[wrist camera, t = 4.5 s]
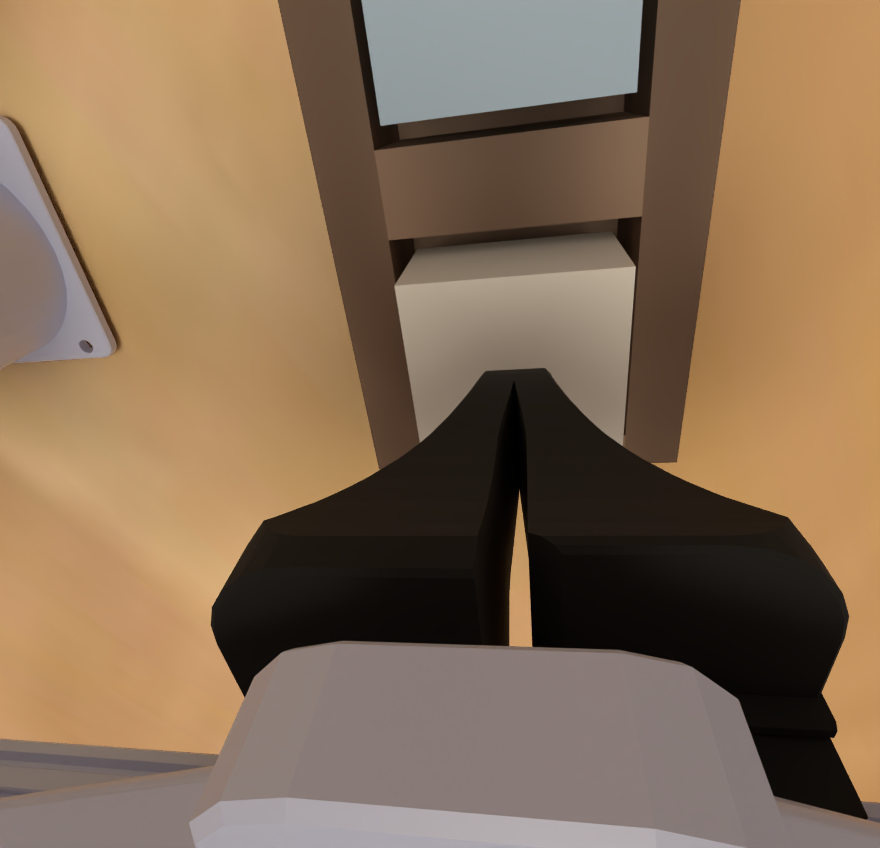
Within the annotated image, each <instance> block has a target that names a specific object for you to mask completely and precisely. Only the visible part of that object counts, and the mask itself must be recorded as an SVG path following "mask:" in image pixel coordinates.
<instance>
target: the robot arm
mask: <svg viewBox="0 0 880 848" xmlns="http://www.w3.org/2000/svg"><path fill="white" fill-rule="evenodd" d="M87 341H88V342H89V343H90V344H91V345H92V347H93V348H92V347H90V346H89V345H88V344H87ZM116 348H117V345H116V341H115V339H114V337H113V335H112V333H111V330H110V328H109V326H108V324H107V322H106V320H105V317H104V315H103V313H102V311H101V309H100V307H99V304H98V302H97V300H96V298H95V296H94V294H93V291H92V289H91V287H90V285H89V283H88V280H87V278H86V276H85V274H84V272H83V270H82V267H81V265H80V263H79V261H78V259H77V257H76V254H75V252H74V250H73V248H72V246H71V244H70V241H69V239H68V237H67V235H66V233H65V231H64V228H63V226H62V224H61V222H60V220H59V218H58V215H57V213H56V211H55V209H54V207H53V205H52V202H51V200H50V198H49V196H48V194H47V192H46V189H45V187H44V185H43V183H42V181H41V179H40V176H39V174H38V172H37V170H36V168H35V166H34V163H33V161H32V159H31V157H30V155H29V153H28V150H27V148H26V146H25V144H24V142H23V140H22V137H21V135H20V133H19V131H18V129H17V128H16V126H15V125H14V124H13V123H12V122H11V121H10V120H9V119H8V118H6V117H4V116H0V369H2V368H4V367H6V366H8V365H10V364H12V363H25V362H41V361H57V360H72V359H88V358H104V357H108V356H110V355H111V354H113V353H114V352H115V351H116ZM519 489H520V496H521V504H522V511H523V519H524V526H525V534H526V541H527V549H528V556H529V575H530V598H531V622H532V646H533V647H515V646H509V590H510V574H511V564H512V555H513V546H514V537H515V527H516V518H517V509H518V499H519ZM848 619H849V614H848V611H847V607H846V603H845V600H844V596H843V593H842V592H841V590H840V589H839V587H838V586H837V584H836V583H835V581H834V580H833V578H832V576H831V575H830V573H829V572H828V570H827V569H826V567H825V565H824V564H823V562H822V561H821V560H820V558H819V557H818V555H817V554H816V552H815V551H814V550H813V548H812V547H811V545H810V544H809V543H808V542H807V541H806V539H805V538H804V537H803V536H802V534H801V533H800V532H799V531H798V529H797V528H796V527H795V526H794V524H793V523H792V522H791V520H790V519H789V518H788V517H785V516H782V515H779V514H776V513H773V512H770V511H767V510H763V509H760V508H757V507H754V506H751V505H748V504H745V503H742V502H738V501H735V500H732V499H729V498H726V497H723V496H721V495H718V494H716V493H713V492H711V491H708V490H706V489H704V488H701V487H699V486H696V485H694V484H691V483H689V482H687V481H685V480H683V479H680V478H678V477H676V476H674V475H672V474H670V473H668V472H666V471H664V470H662V469H660V468H659V467H657V466H655V465H653V464H651V463H649V462H647V461H646V460H644V459H642V458H640V457H639V456H637V455H636V454H634V453H632V452H631V451H629V450H628V449H626V448H625V447H623V446H622V445H620V444H619V443H618V442H616V441H615V440H613V439H612V438H610V437H609V436H608V435H606V434H605V433H604V432H603V431H601V430H600V429H599V428H598V427H597V426H596V425H595V424H594V423H593V422H591V421H590V420H589V419H588V418H587V417H586V416H585V415H584V414H583V413H582V412H581V411H580V410H579V409H578V407H577V406H576V405H575V404H574V403H573V402H572V401H571V400H570V399H569V398H568V396H567V395H566V394H565V393H564V392H563V390H562V389H561V388H560V387H559V385H558V384H557V383H556V381H555V380H554V378H553V377H552V375H551V373H550V372H549V371H548V370H547V369H546V368H532V369H513V370H493V371H485V372H484V373H483V374H482V375H481V377H480V378H479V379H478V381H477V382H476V383H475V385H474V386H473V387H472V389H471V390H470V391H469V392H468V394H467V395H466V396H465V397H464V399H463V400H462V401H461V402H460V403H459V405H458V406H457V407H456V408H455V409H454V410H453V411H452V413H451V414H450V415H449V416H448V417H447V418H446V419H445V420H444V421H443V422H442V423H441V424H440V425H439V426H438V427H437V428H436V429H435V430H434V431H433V432H432V433H431V434H430V435H429V436H427V437H426V438H425V439H424V440H423V441H421V442H420V443H419V444H418V445H416V446H415V447H414V448H412V449H411V450H410V451H408V452H407V453H406V454H404V455H403V456H402V457H400V458H399V459H397V460H395V461H394V462H392V463H390V464H389V465H387V466H386V467H384V468H382V469H381V470H379V471H378V472H376V473H374V474H373V475H371V476H369V477H368V478H366V479H364V480H362V481H360V482H358V483H356V484H354V485H352V486H350V487H348V488H346V489H344V490H342V491H340V492H338V493H335V494H333V495H331V496H329V497H327V498H324V499H322V500H320V501H317V502H315V503H312V504H309V505H307V506H304V507H301V508H298V509H296V510H293V511H290V512H288V513H285V514H282V515H279V516H277V517H274V518H271V519H267V520H264V521H263V523H262V524H261V526H260V527H259V528H258V530H257V531H256V533H255V534H254V536H253V538H252V539H251V541H250V542H249V544H248V545H247V547H246V549H245V550H244V552H243V554H242V556H241V557H240V559H239V561H238V563H237V564H236V566H235V568H234V569H233V571H232V573H231V575H230V576H229V578H228V580H227V582H226V583H225V585H224V587H223V589H222V590H221V592H220V594H219V596H218V598H217V599H216V601H215V603H214V605H213V606H212V616H211V627H212V630H213V633H214V636H215V639H216V642H217V645H218V647H219V649H220V651H221V653H222V655H223V657H224V658H225V660H226V662H227V664H228V666H229V668H230V670H231V672H232V674H233V676H234V678H235V680H236V682H237V684H238V685H239V687H240V689H241V691H242V693H243V695H244V697H245V699H244V701H243V703H242V705H241V707H240V710H239V712H238V714H237V716H236V719H235V721H234V723H233V725H232V727H231V730H230V732H229V734H228V736H227V739H226V741H225V743H224V745H223V748H222V750H221V752H220V754H219V755H217V754H204V753H190V752H176V751H162V750H149V749H135V748H121V747H107V746H94V745H80V744H66V743H53V742H39V741H25V740H11V739H0V848H880V803H876V802H862V801H860V799H859V797H858V794H857V792H856V790H855V788H854V786H853V784H852V782H851V780H850V778H849V776H848V774H847V772H846V770H845V768H844V765H843V763H842V761H841V759H840V757H839V755H838V753H837V751H836V749H835V747H834V745H833V743H832V741H831V739H830V738H834V737H835V735H836V733H837V725H836V721H835V719H834V717H833V715H832V713H831V711H830V709H829V707H828V705H827V703H826V701H825V699H824V697H823V695H822V693H821V692H822V690H823V688H824V685H825V683H826V681H827V678H828V676H829V674H830V671H831V669H832V667H833V664H834V662H835V660H836V657H837V655H838V653H839V650H840V648H841V646H842V643H843V641H844V638H845V634H846V629H847V624H848Z"/></svg>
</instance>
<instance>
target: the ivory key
mask: <svg viewBox="0 0 880 848" xmlns="http://www.w3.org/2000/svg"><path fill="white" fill-rule="evenodd" d="M635 270H636V266H635V265H634V263H633V262H632V260H631V259H630V257H629V256H628V254H627V253H626V252H625V250H624V249H623V247H622V246H621V244H620V243H619V241H618V240H617V238H616V237H615V235H614V234H613V232H612V231H609V232H598V233H587V234H576V235H565V236H554V237H544V238H533V239H522V240H511V241H500V242H489V243H478V244H467V245H456V246H445V247H434V248H423V249H417V250H416V252H415V254H414V255H413V257H412V258H411V260H410V262H409V263H408V265H407V266H406V268H405V270H404V271H403V273H402V275H401V276H400V278H399V279H398V281H397V283H396V284H395V286H394V287H395V293H396V299H397V305H398V311H399V317H400V323H401V330H402V336H403V342H404V348H405V354H406V360H407V366H408V373H409V379H410V385H411V391H412V397H413V403H414V410H415V416H416V422H417V428H418V434H419V440H420V442H421V441H423V440H424V439H425V438H426V437H427V436H429V435H430V434H431V433H432V432H433V431H434V430H435V429H436V428H437V427H438V426H439V425H440V424H441V423H442V422H443V421H444V420H445V419H446V418H447V417H448V416H449V415H450V414H451V413H452V411H453V410H454V409H455V408H456V407H457V406H458V405H459V403H460V402H461V401H462V400H463V399H464V397H465V396H466V395H467V394H468V392H469V391H470V390H471V389H472V387H473V386H474V385H475V383H476V382H477V381H478V379H479V378H480V377H481V375H482V374H483V373H484V372H485V371H493V370H513V369H532V368H546V369H547V370H548V371H549V372H550V373H551V375H552V377H553V378H554V380H555V381H556V383H557V384H558V385H559V387H560V388H561V389H562V390H563V392H564V393H565V394H566V395H567V396H568V398H569V399H570V400H571V401H572V402H573V403H574V404H575V405H576V406H577V407H578V409H579V410H580V411H581V412H582V413H583V414H584V415H585V416H586V417H587V418H588V419H589V420H590V421H591V422H593V423H594V424H595V425H596V426H597V427H598V428H599V429H600V430H601V431H603V432H604V433H605V434H606V435H608V436H609V437H610V438H612V439H613V440H615V441H616V442H618V443H619V444H620V445H622V446H623V435H624V421H625V407H626V393H627V380H628V366H629V352H630V338H631V325H632V311H633V297H634V284H635Z"/></svg>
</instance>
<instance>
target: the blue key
mask: <svg viewBox="0 0 880 848" xmlns="http://www.w3.org/2000/svg"><path fill="white" fill-rule="evenodd" d="M642 5H643V0H362V7H363V14H364V20H365V27H366V33H367V40H368V46H369V53H370V60H371V66H372V73H373V79H374V86H375V92H376V99H377V106H378V112H379V119H380V125H381V126H383V125H391V124H398V123H406V122H413V121H421V120H429V119H436V118H444V117H452V116H459V115H467V114H474V113H482V112H490V111H497V110H505V109H513V108H520V107H528V106H535V105H543V104H551V103H558V102H566V101H574V100H581V99H589V98H597V97H604V96H612V95H619V94H627V93H635V92H637V84H638V69H639V53H640V37H641V21H642Z"/></svg>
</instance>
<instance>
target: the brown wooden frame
mask: <svg viewBox="0 0 880 848" xmlns="http://www.w3.org/2000/svg"><path fill="white" fill-rule="evenodd" d="M740 2H741V0H643V5H642V21H641V37H640V53H639V69H638V84H637V92H635V93H627V94H619V95H612V96H604V97H597V98H589V99H581V100H574V101H566V102H558V103H551V104H543V105H535V106H528V107H520V108H513V109H505V110H497V111H490V112H482V113H474V114H467V115H459V116H452V117H444V118H436V119H429V120H421V121H413V122H406V123H398V124H391V125H383V126H381V125H380V119H379V112H378V106H377V99H376V92H375V86H374V79H373V73H372V66H371V60H370V53H369V46H368V40H367V33H366V27H365V20H364V14H363V7H362V0H278V3H279V8H280V12H281V17H282V22H283V26H284V31H285V36H286V40H287V45H288V49H289V54H290V59H291V63H292V68H293V72H294V77H295V82H296V86H297V91H298V96H299V100H300V105H301V109H302V114H303V119H304V123H305V128H306V133H307V137H308V142H309V146H310V151H311V156H312V160H313V165H314V170H315V174H316V179H317V183H318V188H319V193H320V197H321V202H322V207H323V211H324V216H325V220H326V225H327V230H328V234H329V239H330V244H331V248H332V253H333V257H334V262H335V267H336V271H337V276H338V281H339V285H340V290H341V294H342V299H343V304H344V308H345V313H346V318H347V322H348V327H349V331H350V336H351V341H352V345H353V350H354V355H355V359H356V364H357V368H358V373H359V378H360V382H361V387H362V391H363V396H364V401H365V405H366V410H367V415H368V419H369V424H370V428H371V433H372V438H373V442H374V447H375V452H376V456H377V461H378V465H379V469H382V468H384V467H386V466H387V465H389V464H390V463H392V462H394V461H395V460H397V459H399V458H400V457H402V456H403V455H404V454H406V453H407V452H408V451H410V450H411V449H412V448H414V447H415V446H416V445H418V444H419V443H420V440H419V434H418V428H417V422H416V416H415V410H414V403H413V397H412V391H411V385H410V379H409V373H408V366H407V360H406V354H405V348H404V342H403V336H402V330H401V323H400V317H399V311H398V305H397V299H396V293H395V287H394V286H395V284H396V283H397V281H398V279H399V278H400V276H401V275H402V273H403V271H404V270H405V268H406V266H407V265H408V263H409V262H410V260H411V258H412V257H413V255H414V254H415V252H416V250H417V249H423V248H434V247H445V246H456V245H467V244H478V243H489V242H500V241H511V240H522V239H533V238H544V237H554V236H565V235H576V234H587V233H598V232H609V231H612V232H613V234H614V235H615V237H616V238H617V240H618V241H619V243H620V244H621V246H622V247H623V249H624V250H625V252H626V253H627V254H628V256H629V257H630V259H631V260H632V262H633V263H634V265H635V266H636V270H635V284H634V297H633V311H632V325H631V338H630V352H629V366H628V380H627V393H626V407H625V421H624V435H623V447H625V448H626V449H628V450H629V451H631V452H632V453H634V454H636V455H637V456H639V457H640V458H642V459H644V460H646V461H647V462H649V463H670V462H677V457H678V450H679V443H680V436H681V428H682V421H683V414H684V407H685V399H686V392H687V385H688V378H689V371H690V363H691V356H692V349H693V342H694V334H695V327H696V320H697V313H698V305H699V298H700V291H701V284H702V277H703V269H704V262H705V255H706V248H707V240H708V233H709V226H710V219H711V212H712V204H713V197H714V190H715V183H716V175H717V168H718V161H719V154H720V147H721V139H722V132H723V125H724V118H725V110H726V103H727V96H728V89H729V81H730V74H731V67H732V60H733V53H734V45H735V38H736V31H737V24H738V16H739V9H740Z"/></svg>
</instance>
